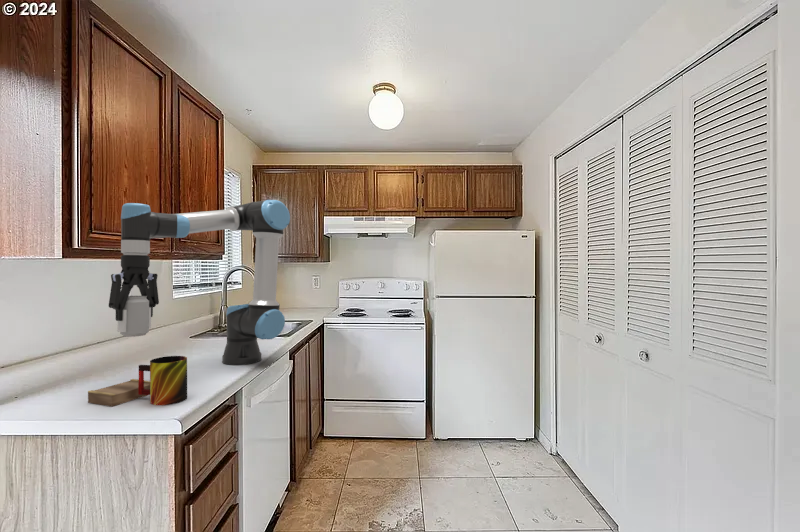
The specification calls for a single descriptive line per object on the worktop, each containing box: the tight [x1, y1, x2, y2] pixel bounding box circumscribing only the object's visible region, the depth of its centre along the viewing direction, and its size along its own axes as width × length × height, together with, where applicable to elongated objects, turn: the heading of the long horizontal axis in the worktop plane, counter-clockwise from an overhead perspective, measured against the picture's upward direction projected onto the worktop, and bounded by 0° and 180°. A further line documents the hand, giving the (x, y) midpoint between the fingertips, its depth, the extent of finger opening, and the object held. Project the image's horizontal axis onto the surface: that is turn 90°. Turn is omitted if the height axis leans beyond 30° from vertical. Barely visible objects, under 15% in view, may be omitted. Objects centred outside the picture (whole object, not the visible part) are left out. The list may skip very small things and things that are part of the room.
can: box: [119, 295, 150, 338], centre depth 133 cm, size 8×8×12 cm
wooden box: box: [87, 378, 150, 407], centre depth 131 cm, size 14×10×3 cm
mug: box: [138, 355, 188, 406], centre depth 128 cm, size 10×14×12 cm
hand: (134, 329), depth 133 cm, fingers closed on can, 7 cm apart
